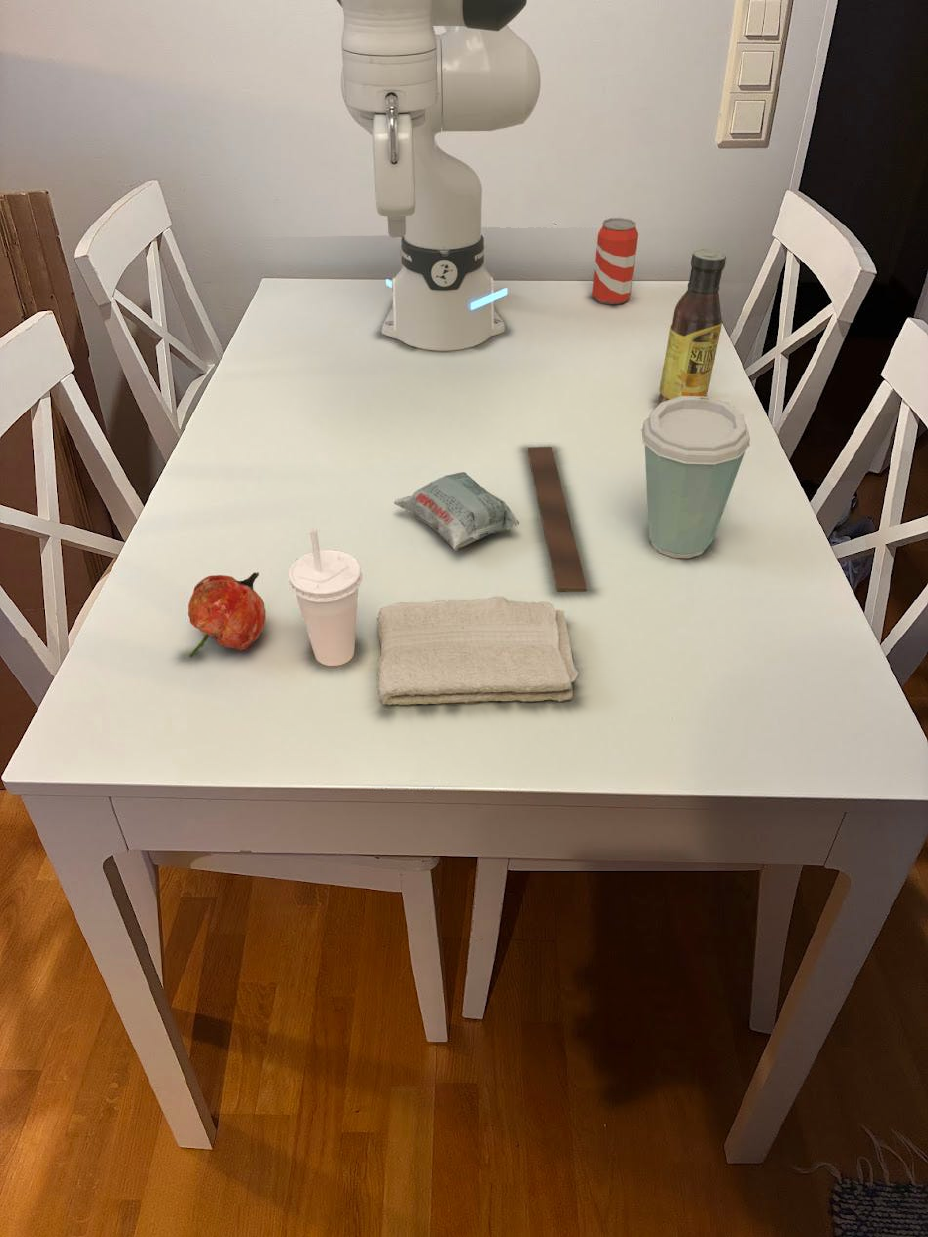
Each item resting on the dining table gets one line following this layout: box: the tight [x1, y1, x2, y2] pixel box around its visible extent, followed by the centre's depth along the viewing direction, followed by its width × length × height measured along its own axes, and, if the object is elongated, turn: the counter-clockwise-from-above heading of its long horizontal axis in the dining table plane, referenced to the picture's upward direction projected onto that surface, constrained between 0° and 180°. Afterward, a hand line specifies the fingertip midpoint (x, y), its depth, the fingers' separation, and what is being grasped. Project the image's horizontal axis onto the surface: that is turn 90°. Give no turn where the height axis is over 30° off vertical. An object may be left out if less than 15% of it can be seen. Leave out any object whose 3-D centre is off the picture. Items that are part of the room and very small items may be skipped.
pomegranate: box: [187, 572, 267, 658], centre depth 86 cm, size 7×7×10 cm
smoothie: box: [288, 528, 364, 667], centre depth 83 cm, size 6×6×14 cm
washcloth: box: [376, 596, 580, 706], centre depth 85 cm, size 12×18×3 cm, turn 94°
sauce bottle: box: [658, 249, 727, 404], centre depth 118 cm, size 6×6×20 cm
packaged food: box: [393, 471, 520, 552], centre depth 101 cm, size 9×12×5 cm
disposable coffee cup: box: [640, 396, 751, 559], centre depth 96 cm, size 11×11×15 cm
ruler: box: [526, 446, 588, 592], centre depth 105 cm, size 28×3×1 cm, turn 3°
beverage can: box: [591, 217, 639, 305], centre depth 149 cm, size 6×6×12 cm
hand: (397, 232), depth 97 cm, fingers closed
